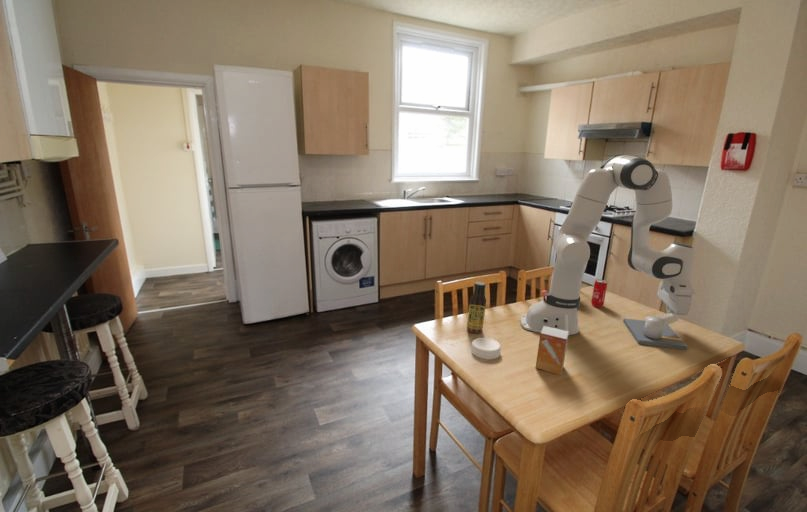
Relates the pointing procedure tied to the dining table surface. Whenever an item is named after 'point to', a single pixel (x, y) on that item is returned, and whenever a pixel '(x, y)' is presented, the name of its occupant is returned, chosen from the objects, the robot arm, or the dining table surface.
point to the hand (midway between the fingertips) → (669, 316)
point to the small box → (552, 349)
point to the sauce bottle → (477, 309)
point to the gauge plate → (667, 340)
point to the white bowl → (486, 348)
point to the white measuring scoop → (658, 324)
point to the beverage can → (599, 293)
